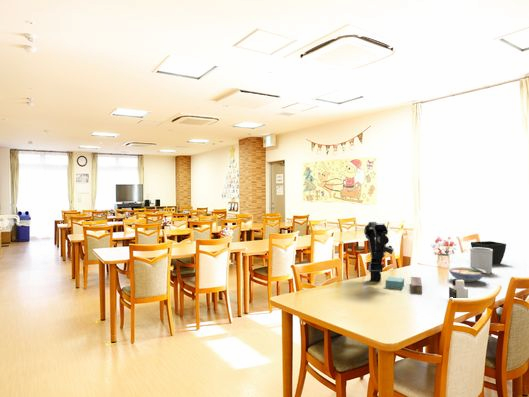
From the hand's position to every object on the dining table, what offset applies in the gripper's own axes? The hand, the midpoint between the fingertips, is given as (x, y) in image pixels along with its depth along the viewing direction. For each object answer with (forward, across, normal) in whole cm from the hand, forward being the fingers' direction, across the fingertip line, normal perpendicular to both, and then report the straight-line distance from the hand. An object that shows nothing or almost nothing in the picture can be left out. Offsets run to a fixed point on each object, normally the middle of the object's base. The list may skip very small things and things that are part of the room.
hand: (380, 265), depth 245 cm
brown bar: (+14, -1, -22) cm, 26 cm away
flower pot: (+13, +99, -78) cm, 127 cm away
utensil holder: (+13, +61, -68) cm, 92 cm away
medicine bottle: (+14, -20, -44) cm, 51 cm away
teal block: (+13, -1, -9) cm, 16 cm away
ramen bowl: (+13, +28, -54) cm, 63 cm away
